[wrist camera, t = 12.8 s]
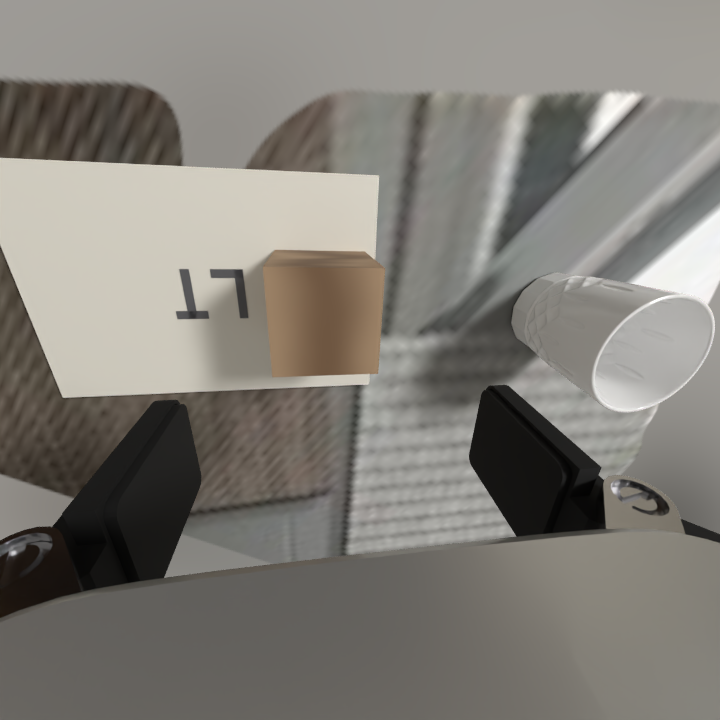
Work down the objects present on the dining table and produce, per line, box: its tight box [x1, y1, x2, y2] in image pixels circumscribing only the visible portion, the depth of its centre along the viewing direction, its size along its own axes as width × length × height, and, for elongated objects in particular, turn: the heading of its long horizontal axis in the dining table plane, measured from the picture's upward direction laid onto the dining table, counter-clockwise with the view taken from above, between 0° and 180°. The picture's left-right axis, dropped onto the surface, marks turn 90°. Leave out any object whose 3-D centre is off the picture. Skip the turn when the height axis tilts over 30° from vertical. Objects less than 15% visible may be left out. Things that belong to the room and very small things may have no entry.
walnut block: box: [263, 250, 385, 377], centre depth 22 cm, size 6×6×7 cm
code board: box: [0, 158, 379, 398], centre depth 24 cm, size 24×16×1 cm, turn 88°
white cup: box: [511, 272, 715, 412], centre depth 25 cm, size 8×8×10 cm
